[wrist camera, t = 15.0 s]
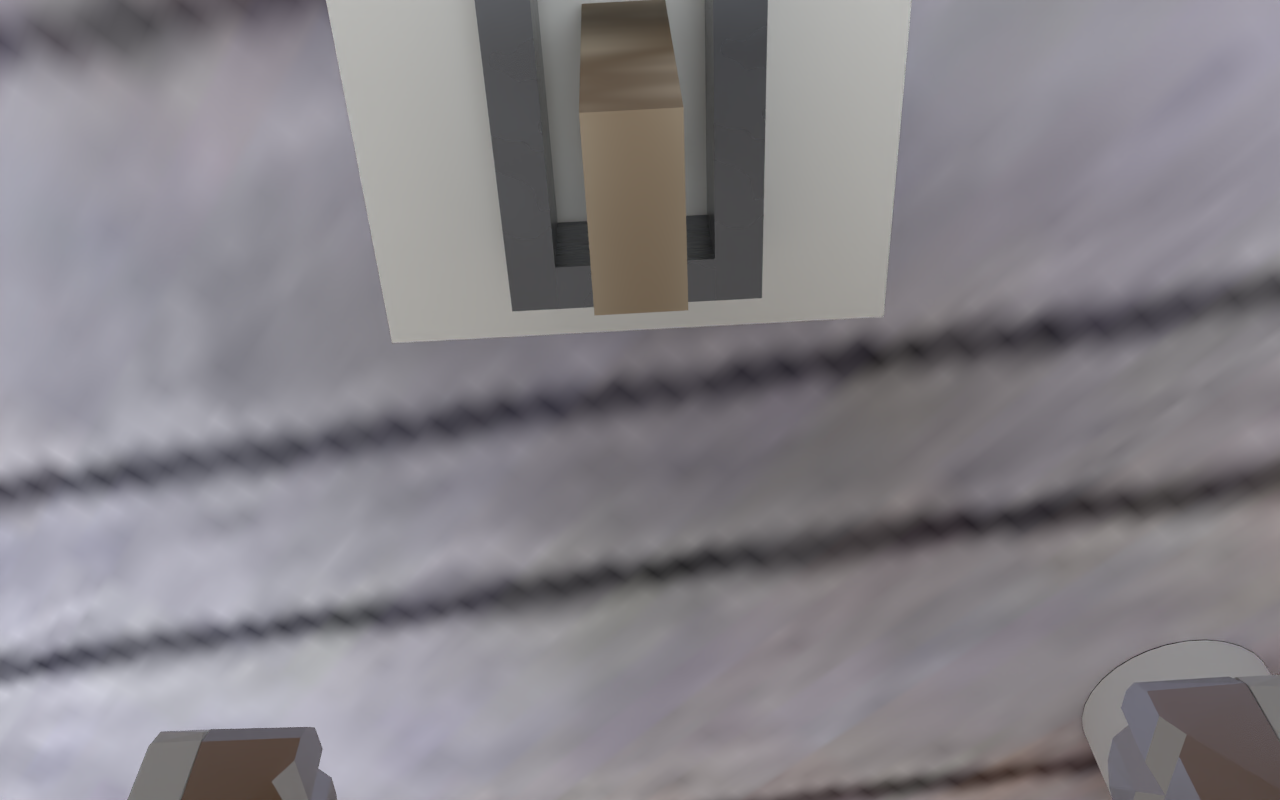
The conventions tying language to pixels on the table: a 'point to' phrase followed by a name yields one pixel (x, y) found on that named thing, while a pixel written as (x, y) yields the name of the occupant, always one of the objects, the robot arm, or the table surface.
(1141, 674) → the cylindrical container
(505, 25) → the frame
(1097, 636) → the table surface
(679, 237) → the wooden block
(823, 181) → the plate
